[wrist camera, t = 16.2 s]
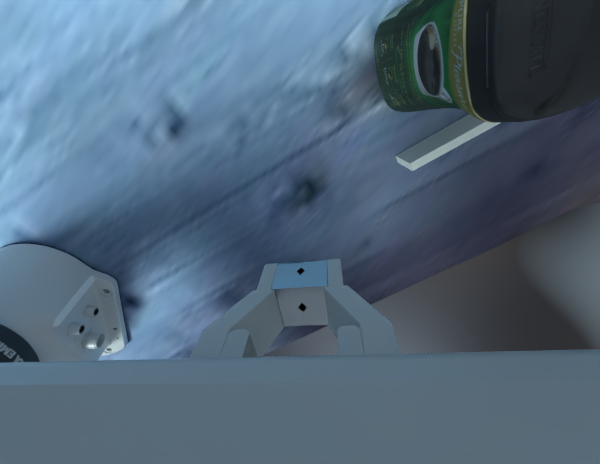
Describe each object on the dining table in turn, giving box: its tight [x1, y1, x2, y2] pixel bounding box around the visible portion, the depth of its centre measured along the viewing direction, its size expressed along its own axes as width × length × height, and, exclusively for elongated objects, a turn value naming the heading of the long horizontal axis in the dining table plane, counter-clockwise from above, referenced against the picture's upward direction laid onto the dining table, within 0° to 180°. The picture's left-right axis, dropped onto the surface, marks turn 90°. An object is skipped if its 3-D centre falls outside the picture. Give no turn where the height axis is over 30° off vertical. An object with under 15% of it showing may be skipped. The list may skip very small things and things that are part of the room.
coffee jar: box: [374, 0, 600, 123], centre depth 19 cm, size 10×8×19 cm
